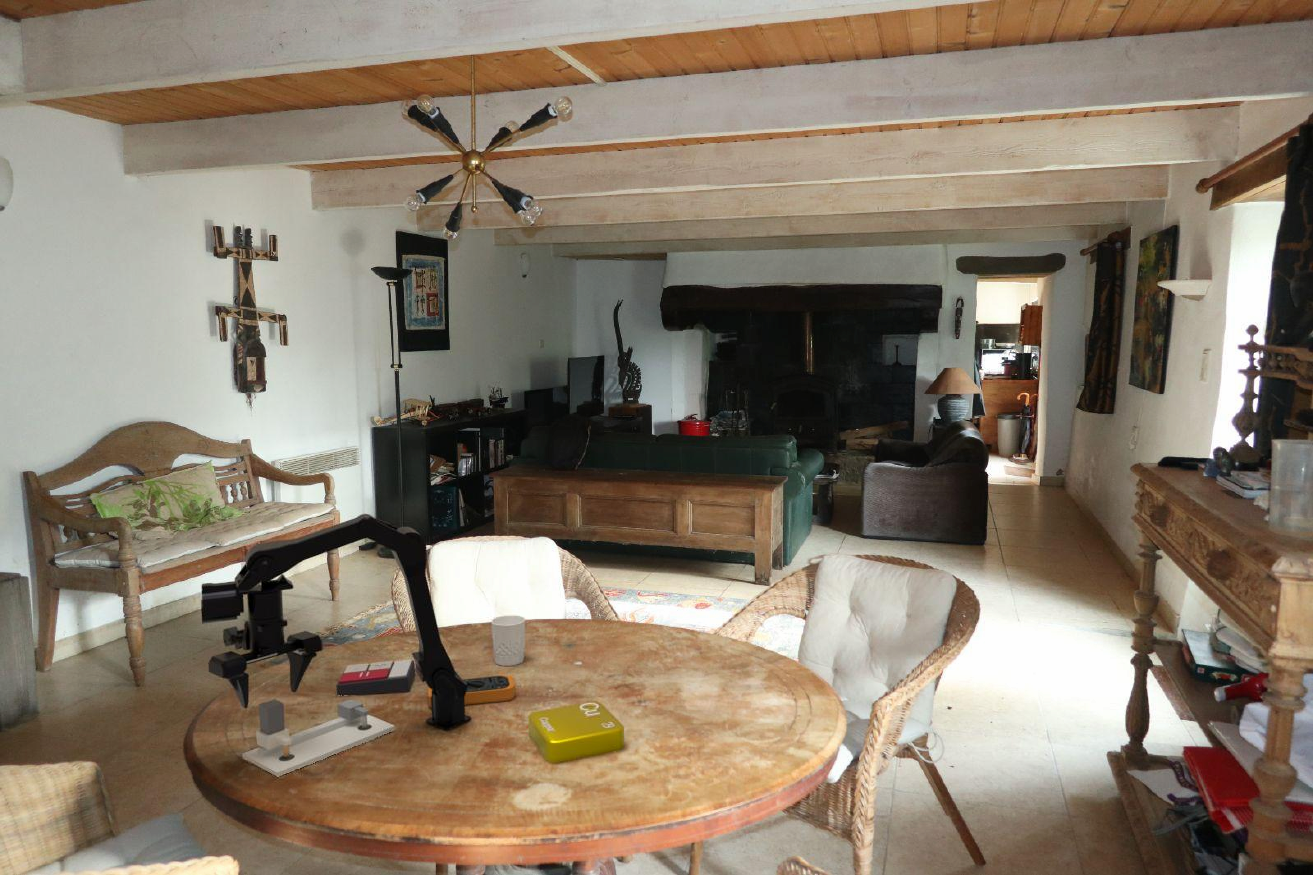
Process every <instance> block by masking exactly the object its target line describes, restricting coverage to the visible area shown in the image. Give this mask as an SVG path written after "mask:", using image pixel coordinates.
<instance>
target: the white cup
mask: <svg viewBox="0 0 1313 875" xmlns="http://www.w3.org/2000/svg"><path fill="white" fill-rule="evenodd" d="M490 623H491V636H492V646H493V647H492V648H493V653H494V654H493V655H494V663H495V664H496V665H498V666H503V667H507V666H509V667H511V666H515V665H516V666H517V665H520V664H522V663H523V662H524V660H525V644H526V640H525V639H526V618H525V617H524V616H522V615H514V614H511V615H510V614H509V615H501V616H497V617H494V618H492V619H491V622H490Z"/></svg>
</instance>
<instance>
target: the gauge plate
mask: <svg viewBox="0 0 1313 875" xmlns="http://www.w3.org/2000/svg"><path fill="white" fill-rule="evenodd" d="M337 716H338V717H337V718H335V719H333V720H332V719H331V720H330V721H327V722H325V723H322V724H319V725H317V726H316V725H315V726H313V727H311V728H308V729H305V730H302V731H301V732H297V733H294V734H292V735H289V738H290V739H292V744H290V745H289V749H290V756H288V757H284V752H283V745H280V746H278V747H275V748H272V749H270V750H268V749H266V748H264V747H262V746H259V747H257V748H254V749H251V750H248V751H246V752H244V753H241V756H242V757H244V758H246V759H247V760H250V761H251V762H252V763H255V764H256V765H258V766H260V767H261V768H263V769H265V770H267V771H268V772H270V773H272V774H274V775H276V776H277V777H279V776H280V775H283V774H286V773H289V772H291V771H294V770H295V769H299V770H301V769H300V768H302V767H304V766H306V765H309V766H311V765H310V764H312V765H314V764H315V762H316V761H319V760H321V761H324V760H326V759H328V758H327V757H329V756H331V755H334V754H336V755H338V754H337V753H339V752H341V751H344V752H346V751H348V750H347V749H349V750H351V749H353V748H352V747H354V746H356V747H358V745H359V746H360V745H361V746H362V745H363V744H366V743H368V742H370V740H371V741H373V740H376V739H377V738H376V737H378V738H380V736H381V737H383V736H385V735H384V734H386V735H387V733H388V734H390V733H389V732H391V733H393V732H395V731H396V725H395V724H392V723H389V722H387V721H384V720H382V719H379V718H378V717H376V716H375V717H374V716H372V715H370V710H369V709H367V708H364V704H363V702H359V701H357V700H354V699H351V698H350V699H348V700H345V701H342V702H339V703H337ZM382 735H383V736H382ZM375 738H376V739H375ZM365 742H366V743H365ZM362 743H363V744H362ZM350 748H351V749H350ZM354 748H355V747H354ZM345 750H346V751H345ZM341 753H342V752H341ZM339 754H340V753H339ZM334 756H335V755H334ZM242 757H241V758H242ZM331 757H332V756H331ZM325 758H326V759H325ZM329 758H330V757H329ZM323 759H324V760H323ZM319 762H320V761H319ZM313 763H314V764H313ZM316 763H317V762H316ZM304 768H305V767H304ZM302 769H303V768H302ZM294 772H295V771H294ZM289 774H290V773H289ZM279 778H280V777H279Z"/></svg>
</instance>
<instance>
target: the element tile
mask: <svg viewBox="0 0 1313 875" xmlns="http://www.w3.org/2000/svg"><path fill="white" fill-rule="evenodd" d="M527 722H528V737H529V739H530V740H531V741H532V742H533V744H534V745H535V747H536V748H537V750H538V752H540V754H541V755H542V756H543V759H545V761H547V762H548V763H552V764H560V763H565V762H566V763H567V762H570V760H571V761H575V760H580V759H584V758H585V757H586V758H591V757H595V755H596V756H601V755H604V754H605V753H606V754H610V753H615V752H620V751H621V750H623V749H624V748H625V727H624V725H623V724H622V723H621V721H620V720H619V719H618V718H616V717H615V715H614V714H612V712H610V710H609V709H608V708H607V707H606V706H605V705H604V704H602V703H601V702H599V701H598V700H597V701H596V700H594V701H586V702H581V703H575V704H571V705H565V706H560V707H559V706H558V707H554V708H553V707H552V708H549V709H543V710H542V709H541V710H537V711H533V712H531V713H529V714H528V721H527ZM623 747H624V748H623ZM614 751H615V752H614ZM609 752H610V753H609ZM590 756H591V757H590Z"/></svg>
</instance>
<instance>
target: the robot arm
mask: <svg viewBox="0 0 1313 875" xmlns="http://www.w3.org/2000/svg"><path fill="white" fill-rule="evenodd" d="M365 539H368V540H371V541H373V542H375V543H377V544H379V545H381V546H383V547H385V548H387V549H389V550H390V551H391V553H392V555H393V557H394V560H395V562H396V565H397V566H398V567H399V570H400V572H401V574H402V576H403V579H404V583H405V587H406V591H407V596H408V600H409V605H410V608H411V614H412V617H413V622H414V626H415V629H416V634H417V639H418V651H417V652H412V653H411V655H412V658H413V660H414V665H415V674H417V676H418V677H419V679H420V680H421V682H422V683H425V684H426V685H428V687H429V688H430V689H432V690H431V691H432V696H431V708H430V709H431V710H430V711H431V717H429V718H426V720H425V722H426V723H427V724H429V725H432V726H434V727H436V728H439V729H442V730H444V731H448V730H451V729H453V728H455V727H458V726H461V725H463V724H465V723H467V722H469V721H472V716H470V715H466V705H465V697H464V696H465V694H466V691H467V688H468V686H467V685H466V683H465V682H464V681H463V680H462V679H463V678H462V677H461V676H460V675H459V674H458V672H457V671H456V670H455V668H454V665H453V663H452V661H451V658H450V655H449V654H448V652H447V651H446V648H445V647H444V645H443V642H442V640H441V634H440V631H439V627H438V622H437V618H436V613H435V610H434V605H433V601H432V596H431V592H430V589H429V583H428V579H427V563H428V555H427V543H426V539H425V538H424V537H423V535H422V534H420V533H419V532H417V530H415V529H414V528H412V527H409V526H400V527H397V526H396V525H394V524H393V525H392V524H390V523H388V522H385V521H384V520H383V521H382V520H381V519H378V518H376V517H374V516H373V515H371V514H369V513H362V514H360V515H358V516H357V517H354V518H352V519H348V520H346V521H343V522H340V523H338V524H337V523H336V524H334V525H332V526H328V527H326V528H322V529H320V530H317V531H314V532H311V533H308V534H305V535H302V536H300V537H297V538H292V539H283V540H282V539H281V540H279V539H278V540H273V541H266V542H262V543H257V544H255V545H253V546H252V547H250V548H249V549H248V551H247V553H245V554H246V555H245V559H244V562H245V563H244V565H243V567H242V568H241V569H240V570H239V572H238V573H237V574H236V576H235V577H234V580H233V581H226V582H225V581H224V582H217V583H214V582H207V583H204V582H203V583H202V584H201V585H200V586H201V600H200V607H201V608H200V610H201V624H208V623H209V624H211V623H218V622H226V621H233V620H238V617H241V614H244V613H245V606H244V596H245V595H246V600H247V617H248V619H247V620H245V621H244V624H243V626H244V628H243V629H238V627H237V626H235V625H234V626H231V627H227V628H223V632H222V636H223V637H222V638H223V639H222V640H223V644H224V646H225V648H226V647H231V646H234V649H235V650H240V649H241V650H245V651H249V652H246V653H243V654H239V653H238V652H235V651H232V650H231V651H226V652H223V653H218V654H216V655H215V654H214V655H212V656H211V658H210V659H209V661H208V672H209V673H210V674H212V675H215V676H217V677H219V678H222V679H226V680H227V681H228V682H229V683H230V685H231V686H232V688H233V690H234V693H235V694H236V697H237V699H238V700H239V702H240V705H241V707H242V708H243V709H247V708H248V706H249V699H250V698H249V691H250V690H249V686H250V682H249V681H250V680H249V679H250V677H249V675H250V674H249V673H247V672H245V671H246V670H247V668H248V665H249V664H250V665H251V664H254V663H258V662H262V661H263V660H268V659H271V658H275V657H278V656H282V655H286V654H287V655H286V656H287V658H288V661H289V685H290V686H289V687H290V691H291V692H292V693H297V691H298V689H299V686H300V684H301V682H302V679H303V677H304V675H305V673H306V671H307V669H308V668H309V665H310V664H311V661H312V660H313V659H314V658H315V657H317V656H318V654H317V653H319V652H323V650H324V646H323V645H324V641H323V638H322V637H321V636H320V635H319V634H316V633H314V632H310V631H307V630H304V631H301V632H297V633H293V634H289V635H288V637H287V638H286V641H285V627H288V619H287V620H286V619H284V604H283V602H284V600H283V591H286V590H287V591H289V590H293V589H294V585H293V582H292V581H291V580H290V579H288V578H287V577H286V576H285V575H284V574H285V573H287V572H289V571H290V570H291V569H293V568H294V567H296V566H297V565H298V564H300V563H302V562H304V561H305V560H308V559H311V558H314V557H317V556H320V555H323V554H326V553H328V552H330V551H334V550H337V549H339V548H340V549H341V548H343V547H345V546H347V545H350V544H353V543H354V544H355V543H357V542H359V541H361V540H362V541H363V540H365ZM275 578H276V579H275Z"/></svg>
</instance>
